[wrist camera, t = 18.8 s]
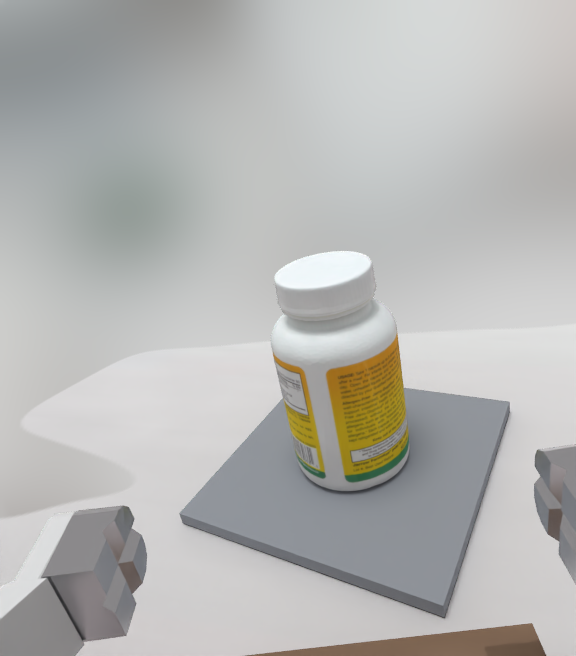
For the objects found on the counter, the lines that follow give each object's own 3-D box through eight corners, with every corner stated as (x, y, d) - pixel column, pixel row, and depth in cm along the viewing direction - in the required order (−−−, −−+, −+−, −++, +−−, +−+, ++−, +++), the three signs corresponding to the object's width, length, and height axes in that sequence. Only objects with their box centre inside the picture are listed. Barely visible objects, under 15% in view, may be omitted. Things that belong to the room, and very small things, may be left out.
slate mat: (183, 523, 24) (179, 513, 24) (305, 382, 33) (304, 374, 32) (444, 617, 18) (443, 605, 17) (509, 411, 26) (509, 401, 26)
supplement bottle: (282, 487, 24) (232, 297, 20) (319, 417, 28) (284, 249, 24) (399, 503, 22) (370, 293, 18) (420, 424, 26) (400, 240, 22)
